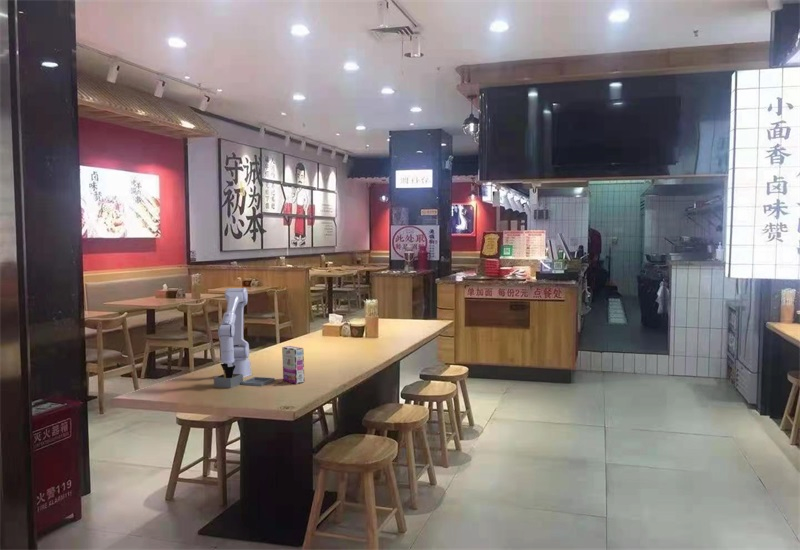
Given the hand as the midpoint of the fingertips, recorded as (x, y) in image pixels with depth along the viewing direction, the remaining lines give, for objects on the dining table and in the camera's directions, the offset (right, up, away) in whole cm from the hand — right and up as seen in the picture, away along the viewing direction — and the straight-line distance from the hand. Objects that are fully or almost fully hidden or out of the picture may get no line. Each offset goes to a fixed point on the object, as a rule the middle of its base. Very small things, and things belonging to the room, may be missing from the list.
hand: (228, 379), depth 283 cm
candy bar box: (+29, -2, +6) cm, 30 cm away
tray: (+13, -3, +4) cm, 14 cm away
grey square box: (0, -3, 0) cm, 3 cm away
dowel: (0, -2, 0) cm, 2 cm away
